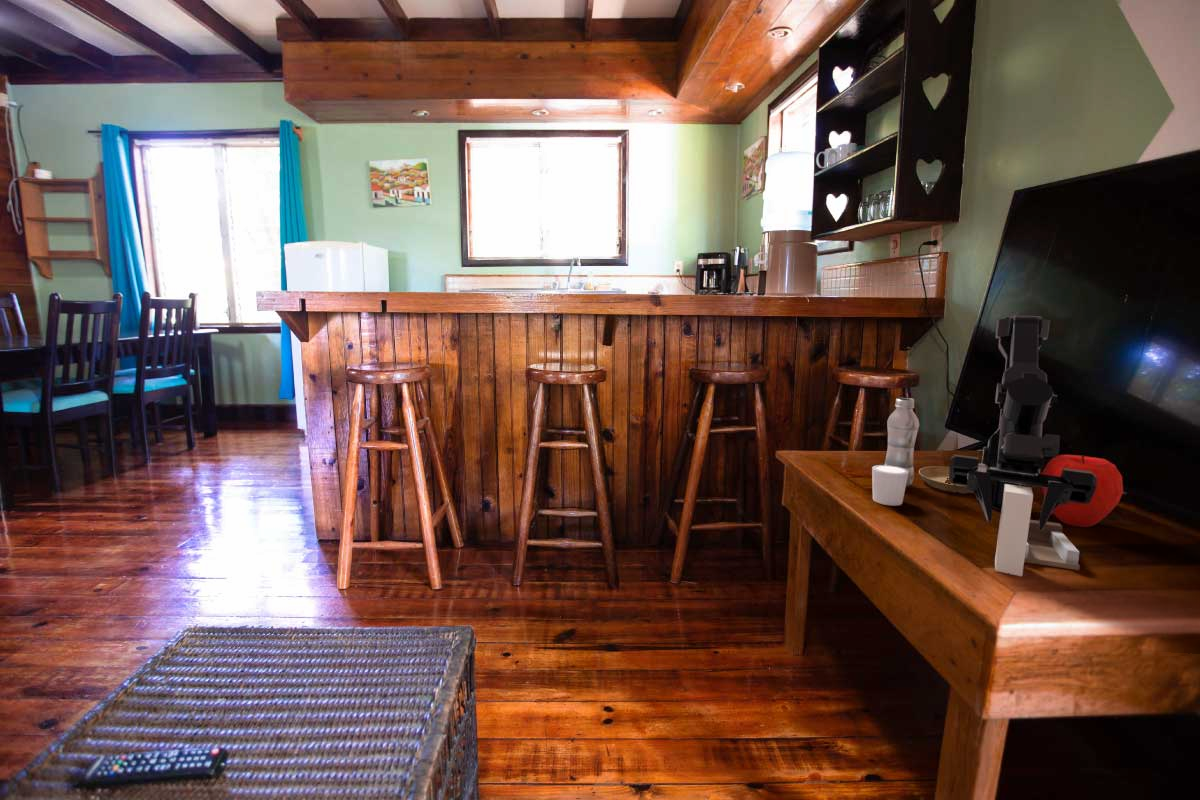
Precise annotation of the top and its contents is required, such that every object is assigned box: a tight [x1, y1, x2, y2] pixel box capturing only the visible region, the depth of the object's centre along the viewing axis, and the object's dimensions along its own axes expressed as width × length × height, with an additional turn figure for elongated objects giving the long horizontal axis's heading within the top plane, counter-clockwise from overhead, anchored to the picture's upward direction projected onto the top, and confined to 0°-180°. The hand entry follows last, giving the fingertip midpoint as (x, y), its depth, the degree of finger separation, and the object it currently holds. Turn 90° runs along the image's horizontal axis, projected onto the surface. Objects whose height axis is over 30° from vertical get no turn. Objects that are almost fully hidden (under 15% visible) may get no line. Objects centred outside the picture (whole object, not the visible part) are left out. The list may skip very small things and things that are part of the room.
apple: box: [1041, 454, 1124, 528], centre depth 108 cm, size 12×12×13 cm
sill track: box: [1024, 519, 1081, 571], centre depth 96 cm, size 10×9×4 cm
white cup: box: [871, 464, 909, 507], centre depth 120 cm, size 7×7×7 cm
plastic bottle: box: [883, 397, 920, 487], centre depth 130 cm, size 6×7×20 cm
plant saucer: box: [918, 466, 975, 494], centre depth 131 cm, size 15×15×3 cm
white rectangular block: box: [994, 484, 1034, 577], centre depth 90 cm, size 4×3×13 cm
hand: (1014, 525), depth 88 cm, fingers open, 6 cm apart
